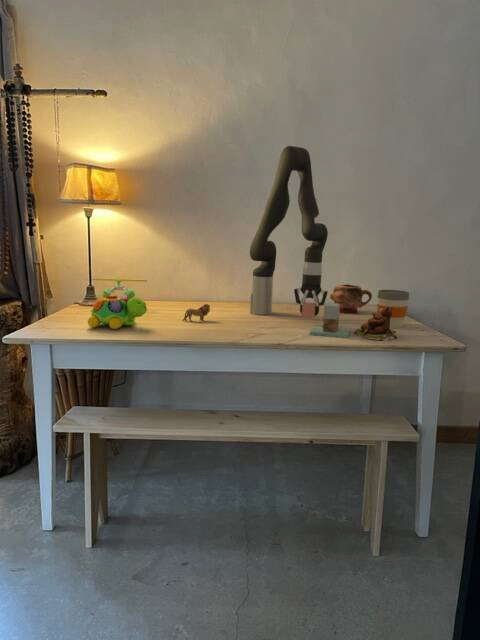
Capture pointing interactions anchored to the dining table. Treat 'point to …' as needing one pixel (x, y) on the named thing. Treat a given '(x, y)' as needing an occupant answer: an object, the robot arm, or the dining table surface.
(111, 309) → the turtle toy
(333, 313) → the slate brick
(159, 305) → the dining table surface
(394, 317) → the reusable coffee cup
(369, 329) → the bear figurine
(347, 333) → the baseplate
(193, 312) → the lion figurine
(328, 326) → the walnut brick
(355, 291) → the brown ceramic mug
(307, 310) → the red brick
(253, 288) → the robot arm
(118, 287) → the toy helicopter
